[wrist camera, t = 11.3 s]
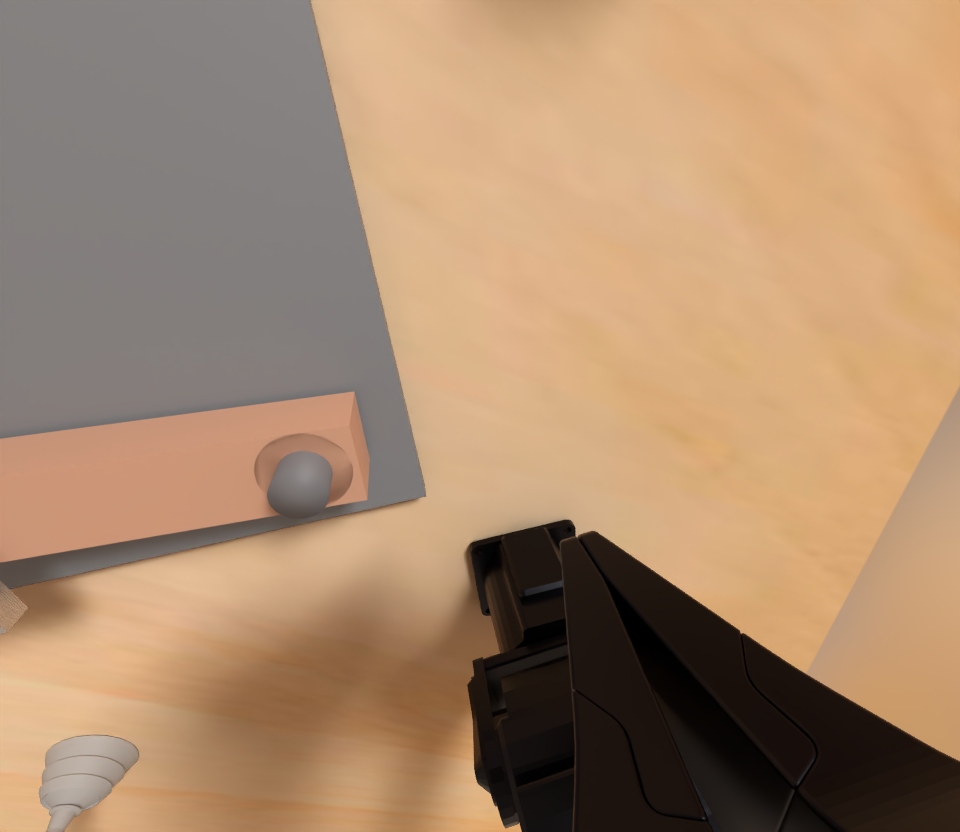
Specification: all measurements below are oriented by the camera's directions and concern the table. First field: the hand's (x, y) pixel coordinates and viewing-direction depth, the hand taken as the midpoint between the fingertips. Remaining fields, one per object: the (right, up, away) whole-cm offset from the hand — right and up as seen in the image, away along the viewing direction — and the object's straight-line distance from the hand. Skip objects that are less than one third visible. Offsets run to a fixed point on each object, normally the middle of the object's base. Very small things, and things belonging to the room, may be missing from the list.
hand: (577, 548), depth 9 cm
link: (-16, +1, +8) cm, 18 cm away
